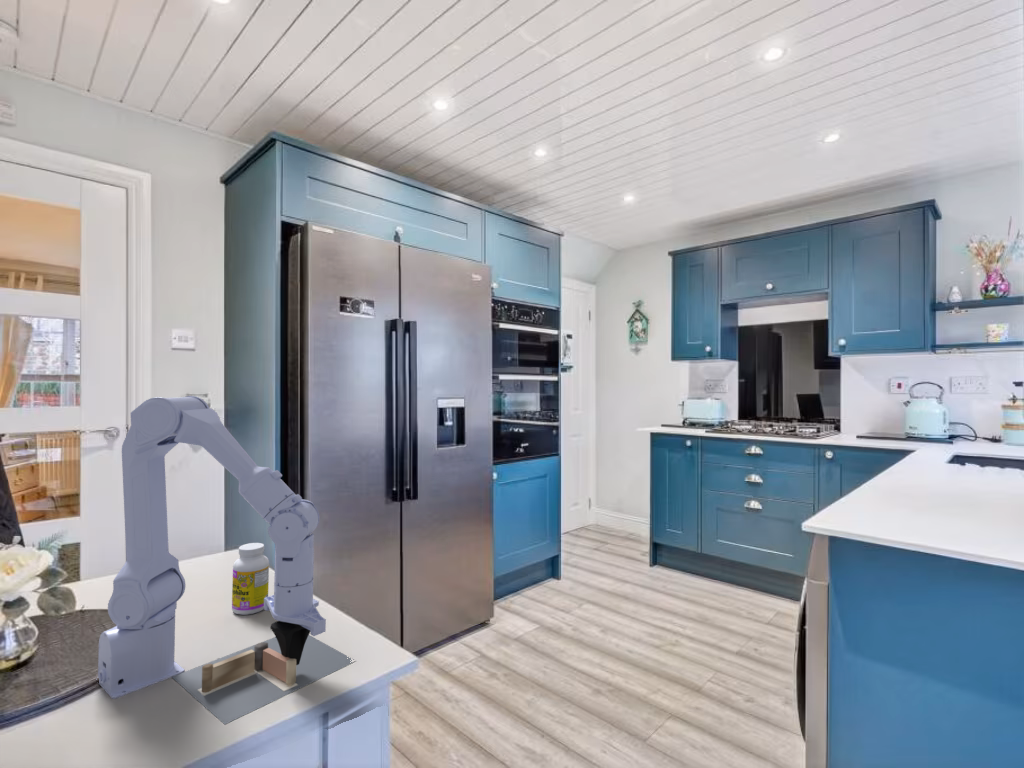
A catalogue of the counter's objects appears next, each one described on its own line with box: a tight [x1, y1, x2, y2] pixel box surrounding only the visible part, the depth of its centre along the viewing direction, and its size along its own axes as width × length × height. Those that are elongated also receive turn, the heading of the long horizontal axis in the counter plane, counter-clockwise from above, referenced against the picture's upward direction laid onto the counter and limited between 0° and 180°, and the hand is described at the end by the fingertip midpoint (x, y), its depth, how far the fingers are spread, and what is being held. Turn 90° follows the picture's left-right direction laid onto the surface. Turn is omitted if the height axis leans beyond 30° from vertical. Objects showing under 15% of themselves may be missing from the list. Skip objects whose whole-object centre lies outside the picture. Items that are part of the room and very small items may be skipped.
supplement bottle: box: [231, 542, 270, 616], centre depth 107 cm, size 7×7×13 cm
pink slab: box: [263, 648, 296, 685], centre depth 82 cm, size 8×1×3 cm, turn 56°
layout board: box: [171, 634, 355, 725], centre depth 84 cm, size 21×18×1 cm
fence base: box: [202, 641, 268, 692], centre depth 81 cm, size 10×2×4 cm, turn 143°
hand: (292, 666), depth 83 cm, fingers closed, pressing on pink slab
